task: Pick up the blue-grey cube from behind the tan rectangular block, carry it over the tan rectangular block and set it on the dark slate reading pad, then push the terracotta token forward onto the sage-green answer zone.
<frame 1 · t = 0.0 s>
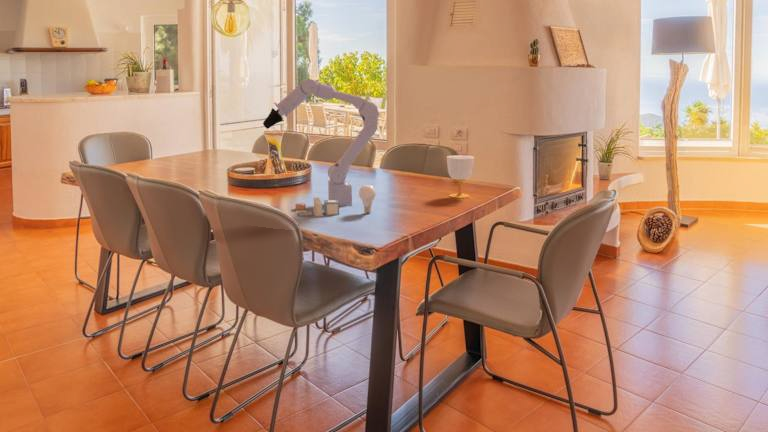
hand: (264, 126, 246), 32 cm above the table, tool tilted 50°, fingers open, 7 cm apart
cup: (459, 196, 275), on the table
reading pad: (305, 215, 240), on the table
tan rectangular block: (318, 213, 243), on the table
blue-grey cube: (331, 214, 242), on the table
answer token: (300, 209, 248), resting on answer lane
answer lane: (301, 211, 247), on the table
lightbulb: (367, 213, 242), on the table
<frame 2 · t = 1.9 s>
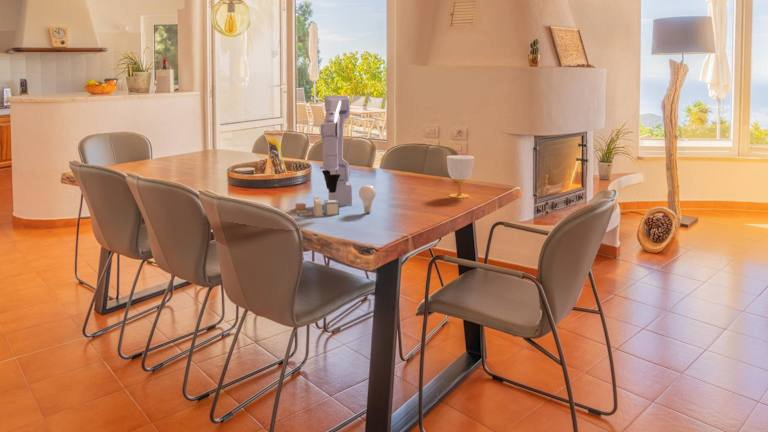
hand: (331, 190, 240), 9 cm above the table, tool pointing down, fingers open, 7 cm apart
nothing on the table moved.
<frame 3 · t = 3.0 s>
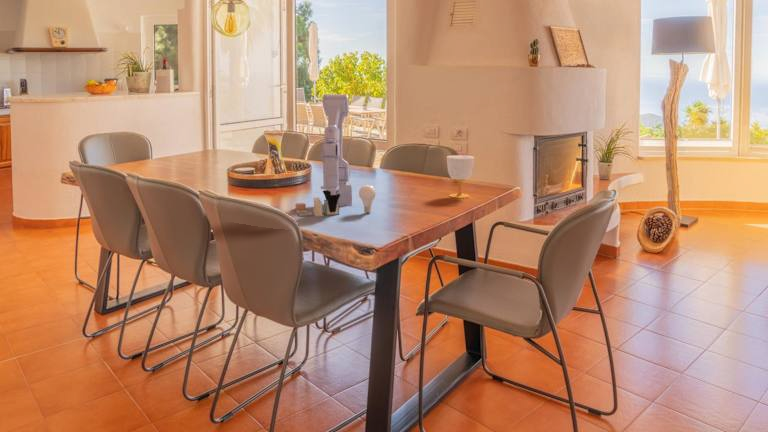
hand: (331, 210, 241), 1 cm above the table, tool pointing down, fingers closed on blue-grey cube, 5 cm apart
blue-grey cube: (331, 213, 242), on the table, touching gripper
everything else where it was.
when the fingers open (3 cm above the table, at t = 6.7 s): blue-grey cube stays where it is, resting on reading pad.
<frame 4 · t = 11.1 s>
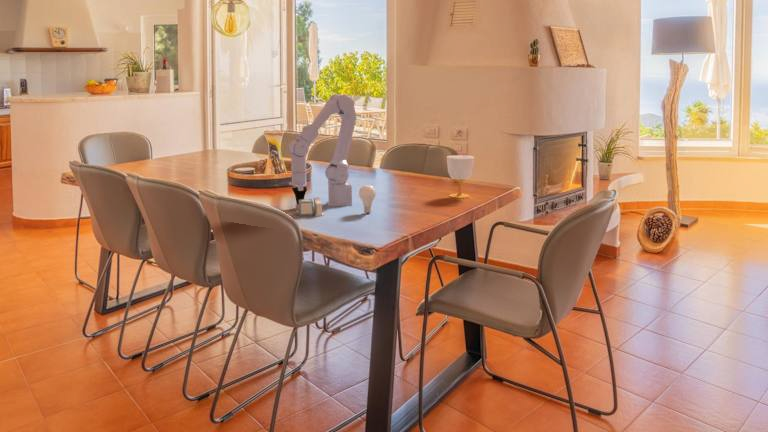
hand: (300, 205, 251), 1 cm above the table, tool pointing down, fingers closed
blue-grey cube: (306, 213, 240), point 1 cm above the table, touching reading pad
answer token: (300, 209, 248), resting on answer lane, touching gripper
everything else where it was.
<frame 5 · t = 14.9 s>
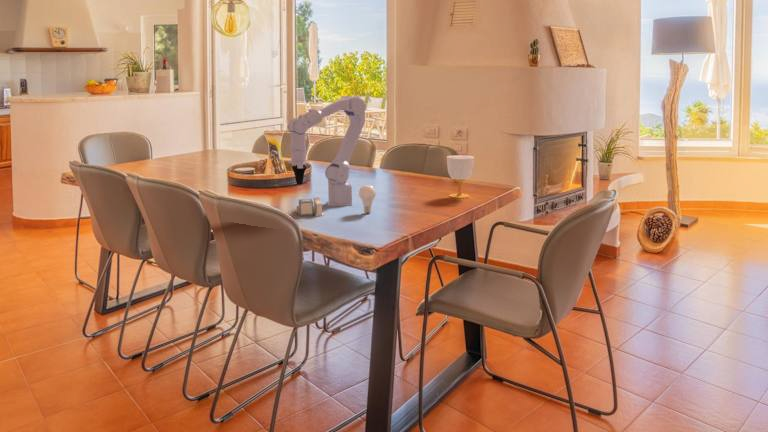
hand: (299, 184, 248), 10 cm above the table, tool pointing down, fingers closed
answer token: (301, 211, 244), resting on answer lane
everything else where it was.
at the end: blue-grey cube inside the target area on the reading pad (0.3 cm from its centre), point 0.6 cm above the reading pad's base; blue-grey cube tilted 0°; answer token 0.2 cm from the target spot, resting on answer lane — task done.
